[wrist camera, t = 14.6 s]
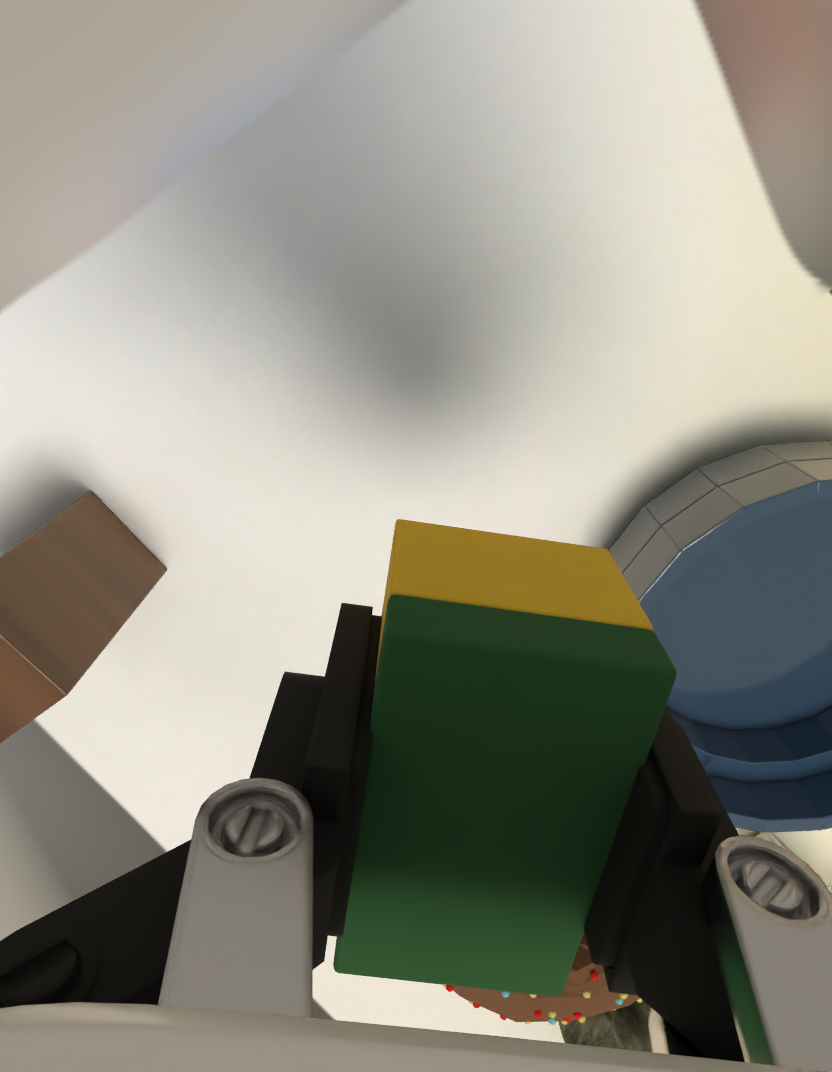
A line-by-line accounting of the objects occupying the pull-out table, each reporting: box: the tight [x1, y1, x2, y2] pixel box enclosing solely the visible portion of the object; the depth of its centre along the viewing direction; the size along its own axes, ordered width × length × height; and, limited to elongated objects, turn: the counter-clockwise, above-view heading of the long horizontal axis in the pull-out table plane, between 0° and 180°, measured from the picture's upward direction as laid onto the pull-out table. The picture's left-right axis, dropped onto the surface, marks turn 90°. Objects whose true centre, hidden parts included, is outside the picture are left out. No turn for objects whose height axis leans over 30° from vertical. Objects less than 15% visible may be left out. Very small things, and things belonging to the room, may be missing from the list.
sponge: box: [333, 519, 677, 997], centre depth 11 cm, size 6×4×4 cm, turn 171°
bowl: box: [609, 441, 832, 833], centre depth 28 cm, size 15×15×5 cm
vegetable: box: [559, 1001, 652, 1052], centre depth 39 cm, size 14×5×5 cm, turn 31°
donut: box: [442, 931, 643, 1025], centre depth 34 cm, size 14×14×5 cm
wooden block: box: [0, 491, 167, 743], centre depth 26 cm, size 6×4×9 cm
